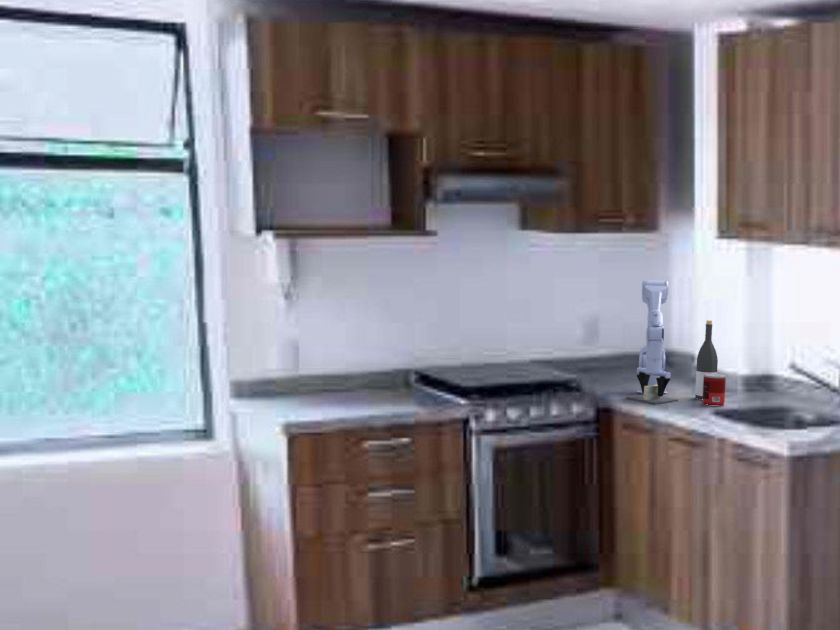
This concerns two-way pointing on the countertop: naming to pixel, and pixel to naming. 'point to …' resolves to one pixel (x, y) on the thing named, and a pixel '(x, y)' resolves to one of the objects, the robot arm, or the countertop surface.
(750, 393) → the countertop surface
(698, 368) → the wine bottle
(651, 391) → the pale green block
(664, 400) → the rubber mat
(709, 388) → the canned food
